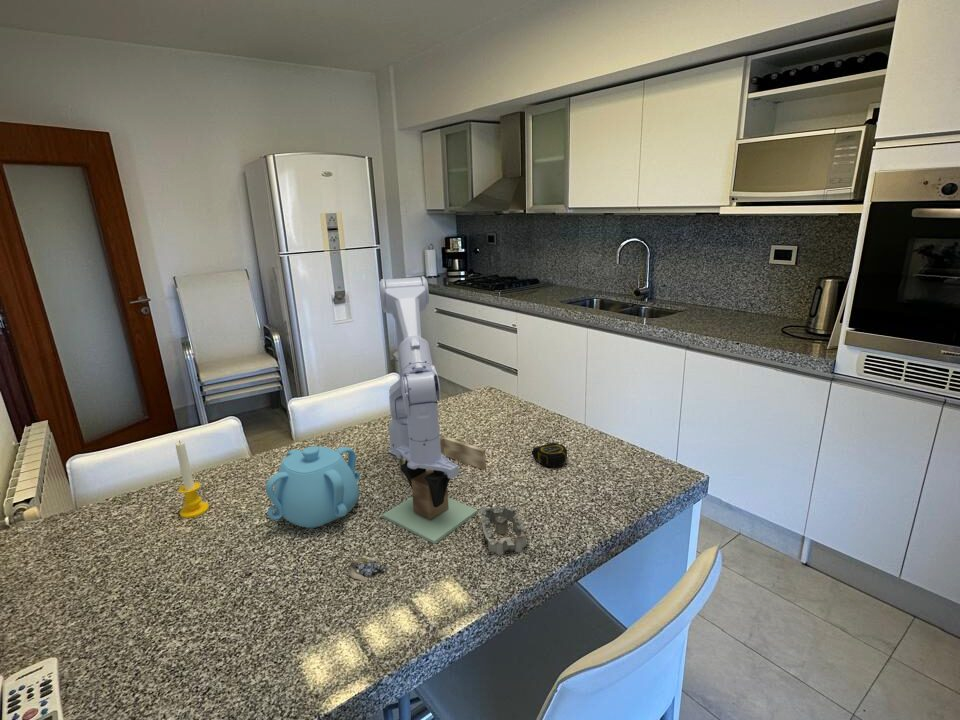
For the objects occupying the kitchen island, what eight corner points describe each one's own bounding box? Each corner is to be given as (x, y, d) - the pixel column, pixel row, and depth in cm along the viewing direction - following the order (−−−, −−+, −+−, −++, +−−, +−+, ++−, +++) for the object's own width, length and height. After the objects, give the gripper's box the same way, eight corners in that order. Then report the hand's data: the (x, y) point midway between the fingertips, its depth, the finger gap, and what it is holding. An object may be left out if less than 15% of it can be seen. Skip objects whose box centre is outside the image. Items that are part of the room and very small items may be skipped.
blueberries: (354, 557, 87) (353, 548, 87) (400, 556, 87) (399, 547, 87) (343, 585, 81) (341, 575, 80) (393, 584, 81) (392, 574, 80)
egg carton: (528, 553, 86) (528, 533, 85) (486, 558, 86) (485, 537, 85) (518, 518, 96) (517, 500, 95) (479, 522, 96) (478, 503, 94)
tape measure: (556, 453, 121) (556, 439, 120) (572, 465, 115) (573, 450, 114) (531, 460, 119) (531, 445, 118) (546, 472, 113) (546, 457, 111)
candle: (213, 510, 103) (198, 439, 99) (185, 521, 99) (168, 448, 95) (203, 501, 106) (188, 432, 102) (176, 512, 103) (159, 441, 98)
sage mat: (382, 517, 98) (382, 514, 98) (426, 490, 107) (426, 488, 107) (434, 544, 89) (434, 541, 89) (477, 512, 98) (477, 509, 98)
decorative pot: (259, 535, 94) (247, 469, 90) (296, 489, 109) (287, 431, 106) (345, 537, 92) (336, 470, 89) (370, 490, 108) (364, 431, 104)
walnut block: (413, 512, 98) (411, 479, 96) (432, 501, 101) (430, 469, 99) (430, 520, 95) (428, 486, 93) (448, 508, 99) (447, 475, 97)
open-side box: (401, 476, 113) (399, 458, 112) (444, 452, 123) (442, 435, 122) (443, 494, 105) (442, 474, 104) (485, 467, 115) (485, 449, 114)
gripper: (381, 433, 95) (387, 497, 99) (437, 453, 86) (442, 523, 90) (409, 420, 100) (414, 482, 104) (464, 438, 91) (468, 505, 95)
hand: (429, 500), depth 97 cm, fingers closed on walnut block, 4 cm apart
